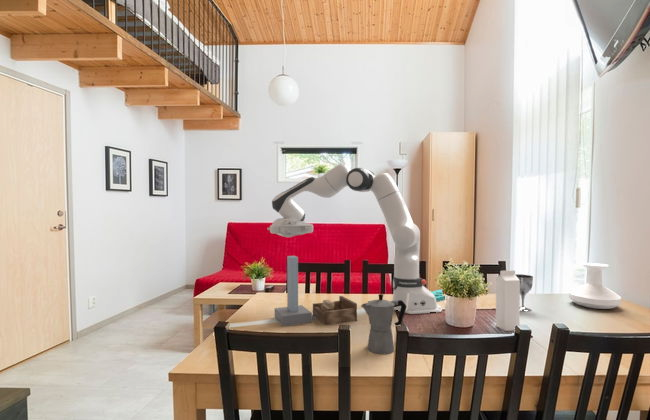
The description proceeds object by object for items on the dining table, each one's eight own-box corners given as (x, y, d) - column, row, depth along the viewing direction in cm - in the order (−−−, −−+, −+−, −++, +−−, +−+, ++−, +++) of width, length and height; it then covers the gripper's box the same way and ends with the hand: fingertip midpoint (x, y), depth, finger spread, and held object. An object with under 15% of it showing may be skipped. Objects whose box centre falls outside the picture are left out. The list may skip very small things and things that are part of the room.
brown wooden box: (341, 311, 166) (341, 295, 166) (356, 320, 153) (356, 303, 153) (312, 315, 160) (312, 299, 160) (325, 325, 147) (325, 307, 147)
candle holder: (612, 314, 161) (613, 269, 160) (561, 304, 177) (561, 263, 176) (628, 307, 172) (628, 265, 172) (578, 298, 189) (578, 260, 188)
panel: (294, 308, 157) (294, 255, 156) (298, 311, 152) (298, 257, 152) (287, 309, 155) (287, 256, 155) (291, 312, 151) (290, 257, 151)
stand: (301, 314, 162) (301, 305, 162) (311, 322, 151) (311, 312, 151) (274, 317, 157) (274, 308, 157) (282, 326, 146) (282, 316, 146)
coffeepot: (365, 356, 117) (365, 298, 117) (357, 345, 126) (357, 291, 126) (412, 352, 120) (412, 296, 120) (400, 341, 129) (400, 289, 129)
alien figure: (474, 304, 179) (463, 294, 199) (474, 299, 179) (463, 290, 199) (431, 303, 181) (424, 293, 201) (431, 298, 181) (424, 289, 201)
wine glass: (509, 308, 171) (509, 275, 171) (520, 305, 175) (520, 273, 174) (525, 312, 164) (525, 278, 164) (536, 310, 167) (537, 276, 167)
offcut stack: (327, 315, 160) (327, 298, 160) (335, 321, 152) (335, 303, 152) (321, 316, 159) (320, 299, 158) (328, 322, 151) (328, 303, 151)
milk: (519, 330, 141) (520, 271, 140) (504, 331, 140) (505, 272, 140) (509, 325, 147) (510, 269, 146) (495, 325, 146) (495, 269, 146)
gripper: (266, 221, 177) (274, 223, 164) (307, 221, 185) (317, 222, 172) (266, 235, 177) (274, 237, 164) (307, 233, 185) (317, 236, 172)
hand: (296, 229), depth 168 cm, fingers open, 8 cm apart
